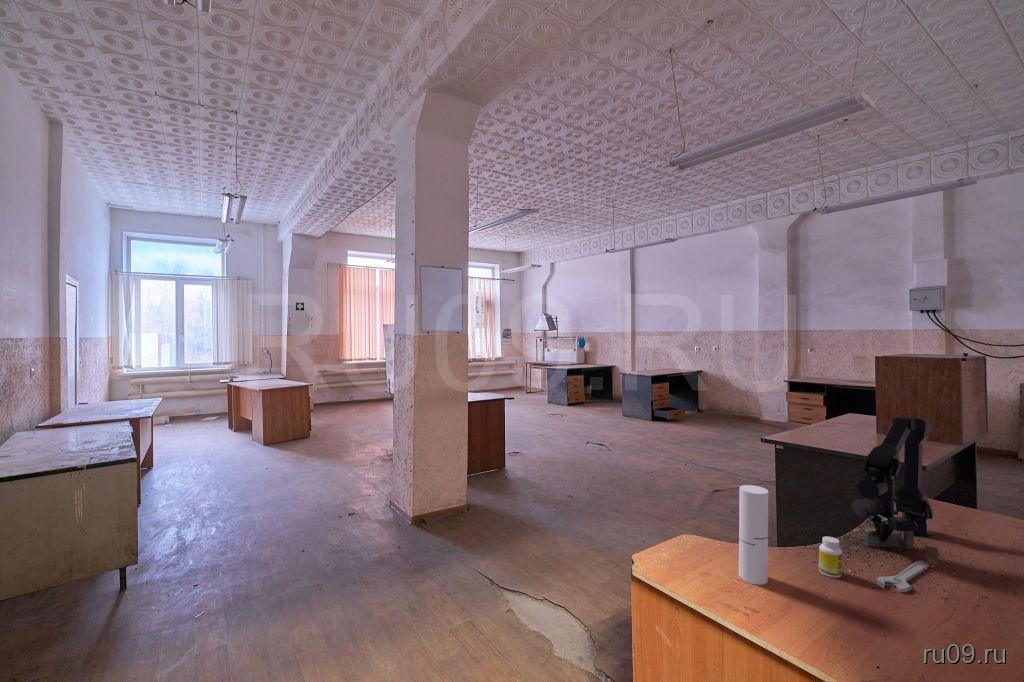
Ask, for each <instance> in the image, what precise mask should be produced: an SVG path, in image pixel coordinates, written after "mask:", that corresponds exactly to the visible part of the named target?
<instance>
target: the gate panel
mask: <svg viewBox="0 0 1024 682" xmlns="http://www.w3.org/2000/svg"><path fill="white" fill-rule="evenodd" d="M864 544H866V546H888V547H889V546H890V547H892V546H893V547H903V546H904V531H896V530H894V531H893V532H892V533H891V535H890V536H889V537H888V539H887V540H886V542H881V541H880V540H879V537H878V535H877V532H876V529H875V528H864Z"/></svg>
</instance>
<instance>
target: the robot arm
mask: <svg viewBox="0 0 1024 682" xmlns="http://www.w3.org/2000/svg"><path fill="white" fill-rule="evenodd" d="M932 429H933V425H932V422H930V421H929V419H928V418H925V417H919V416H918V417H917V416H909V415H902V416H894V417H893V419H892V424H891V427H890V429H889V430H888V432H887V433H886V436H885V437H884V439H883V441H882V442H881V444H880V445H877V446H874V447H873V448H872V449H871V451H870V452H869V453H868V454H867V455H866V457H865V460H864V461H865V462H864V464H863V467H862V470H861V473H862V474H864V479H861V480H859V481H858V483H857V484H856V489H857V492H858V493H859V494H860V496H862V497H863V498H864V499H855V500H853V501H852V502H851V508H852V509H853V512H854V514H855V515H857V516H859V517H861V518H862V519H868V520H869V521H870V522H871V523H872V525H873V527H874V529H876V532H877V535H878V537H879V540H880V541H881V542H886V540H887V539H888V537H889V536H890V535H891V533H892V532H893V531H894V530H896V531H914V535H913V536H921V537H922V536H925V535H926V536H925V537H931V536H932V533H930V532H928V523H927V520H933V519H934V509H933V506H932V505H931V502H930V501H929V495H928V494H927V492H926V490H925V489H924V487H923V486H922V485H923V483H922V481H923V480H922V479H923V478H922V477H923V452H924V451H923V448H924V446H923V445H924V443H925V442H926V441H927V440H928V438H929V437H930V433H931V432H932ZM903 446H904V447H903ZM902 448H904V450H903V451H904V452H903V453H904V455H903V456H904V458H903V484H902V485H901V486H900V487H899V488H898V489H897V490H896V492H895V478H896V477H898V474H899V472H900V470H901V467H902V464H901V460H900V457H899V455H900V453H901V450H902ZM895 493H896V494H895ZM895 509H896V510H895ZM899 513H901V515H902V516H899ZM897 515H898V516H897ZM928 535H930V536H928Z"/></svg>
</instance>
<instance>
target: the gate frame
mask: <svg viewBox="0 0 1024 682" xmlns="http://www.w3.org/2000/svg"><path fill="white" fill-rule="evenodd" d="M914 536H915V535H914V531H904V546H902V547H903V548H904V549H908V550H911V549H914ZM938 551H939V548H937V547H936V546H932V545H931V546H925V556H924V557H925V558H924V559H925V561H924V562H926V563H928V564H929V566H937V567H938Z"/></svg>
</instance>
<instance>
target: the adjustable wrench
mask: <svg viewBox="0 0 1024 682" xmlns="http://www.w3.org/2000/svg"><path fill="white" fill-rule="evenodd" d="M924 564H925V565H924ZM927 567H929V564H928V563H926V562H925V561H924V560H916V561H915V562H913V563H912V564H911V565H909V566H908V567H906V568H904V569H903V570H902V571H900V572H899V573H898V574H896V575H891V576H890V575H889V576H878V577H877V580H876V583H877V585H878V587H879V588H882V589H883V590H885V586H890V585H891V587H894V586H896V587H895V588H896V589H897V588H898V589H897V592H898V591H899V592H905V591H908V590H909V589H910V590H912V589H913V587H912V585H910V584H909V583H908V582H909V581H911V580H912V579H911V578H913V577H914V576H916V575H917V574H919V573H920V572H921V571H922V570H924V569H925V568H927ZM929 568H930V567H929ZM920 574H921V573H920ZM920 574H919V575H920ZM917 576H918V575H917ZM917 576H916V577H917ZM914 578H915V577H914ZM914 578H913V579H914ZM910 579H911V580H910ZM908 580H909V581H908ZM906 581H908V582H906ZM910 590H909V591H910ZM909 591H908V592H909ZM912 591H913V590H912Z"/></svg>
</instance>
